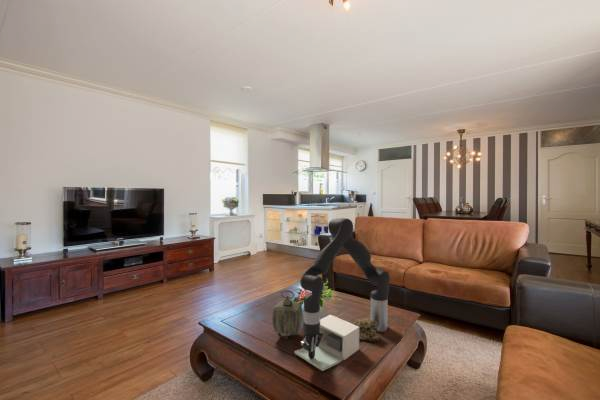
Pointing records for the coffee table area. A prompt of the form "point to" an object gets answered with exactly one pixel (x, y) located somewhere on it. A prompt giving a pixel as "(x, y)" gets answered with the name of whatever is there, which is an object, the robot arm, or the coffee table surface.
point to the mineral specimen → (367, 329)
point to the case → (339, 336)
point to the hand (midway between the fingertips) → (311, 357)
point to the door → (319, 358)
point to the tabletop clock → (287, 316)
